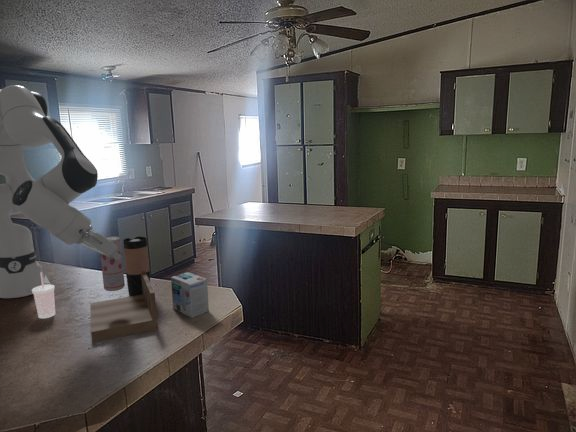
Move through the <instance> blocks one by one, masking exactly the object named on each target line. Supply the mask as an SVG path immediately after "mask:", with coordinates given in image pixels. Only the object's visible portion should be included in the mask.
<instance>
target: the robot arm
mask: <svg viewBox="0 0 576 432" xmlns="http://www.w3.org/2000/svg"><path fill="white" fill-rule="evenodd" d="M48 109H49V108H48V105H47V101H46V99H45V98H44V96H43V95H42V94H41V93H39V92H36V91H31V90H29V89H28V88H26V87H24V86H22V85H17V84H14V85H13V84H12V85H8V86H5V87H3V88H0V175H1V176H3V177H4V178H5V183H0V299H15V298H22V297H28V296H31V295H34V294H33V293H32V289H33V288H35V287H37V286H41V285H42V282H41V275H40V272H42V276H43V284H44V285H48V284H49V285H52V284H51V282H50V280H49V278H48V277H47V275H46V274H45V273H43V266H41V264H40V263H39V262H38V261H37V260H38V258H37V252H36V250H35V249H34V242H33V241H34V240H33V236H32V235H33V234H32V231H31V230H30V229H29V227H27V226H26V225H23V224H19V223H14V222H13V220H12V218H11V216H15V215H20V214H22V215H23V216H24V217H25V218H27V219H29V220H30V221H31V222H33V223H34V224H35V225H37V226H38V227H41V228H44V229H46V230H48V231H49V233H50V234H51V235H52V236H54V237H55V238H56V239H58V240H60V241H61V242H64V243H65V244H66V245H68V246H71V245H74V244H75V245H81V246H84V247H86V248H88V249H91V250H93V251H94V252H97V253H99V254H100V253H101V254H103V255H105V256H108V257H112V258H114V259H116V260H119V258H120V257H121V255H120V254H119V253H118V252H117V251H116V250H117V249H118V246H117V245H115V244H114V243H113V242H111V241H110V240H108V239H107V238H105V236H104V235H102V234H101V233H99V232H97V231H94V230H93V225H91V224H92V221H91V218H89V216H88V215H85V214H84V213H83V212H81V211H80V210H79V209H77V208H76V207H74V206H71V205H69V204H70V203H72V202H74V200H76V199H77V198H79V197H81V196H82V195H83V194H84V193H86V192H87V191H89V190H91V189H93V188H95V187H96V186H97V184H98V176H99V174H98V170H97V167H95V165H94V164H93V163H92V162H91V160H89V158H87V157H86V155H85V154H84V153H83V151H82V150H81V149H80V147H79V146H78V145H77V143H76V141H75V140H74V139H73V137H72V136H71V134H70V132H68V131H67V129H66V128H65V126H63V124H62V123H61V122H59V121H58V120H57V119H56V118H54V117H52V116H50V115H48ZM50 143H52V145H53V146H54V147H55V149H56V150H57V152H58V154H59V155H60V156H61V159H60V161H59V162H58V163H57V165H56V166H55V167H53V168H51V169H50V170H49V171H48V172H46V173H45V174H43V175H42V176H40V177H39V178H38V179H35V178H34V177H33V176H32V175H31V174H30V172H29V170H28V169H27V165H26V162H25V156H24V149H23V148H24V147H29V148H31V147H32V148H34V147H36V148H37V147H42V146H45V145H48V144H50Z"/></svg>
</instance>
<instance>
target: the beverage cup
mask: <svg viewBox="0 0 576 432" xmlns="http://www.w3.org/2000/svg"><path fill="white" fill-rule="evenodd" d="M42 272H43V271H42ZM42 272H40V275H41V282H42V285H41V286H37V287H35V288H33V289H32V293H33V294H32V295H33V298H34V303H35V307H36V312H37V317H38V318H39V319H48V318H51V317H53V316H55V315H56V304H55V287H56V286H55V285H54V284H51V285H49V284H48V285H44V284H43V276H42Z"/></svg>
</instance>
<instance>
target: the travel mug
mask: <svg viewBox="0 0 576 432" xmlns="http://www.w3.org/2000/svg"><path fill="white" fill-rule="evenodd" d="M122 242H123V251H124V252H123V254H124V265H125V276H126V282H127V289H128V290H127V292H128V297H130V296H136V295H142V294H143V289H142V277H141V271H145V272H146V274H147V277H148V279H149V281H150V282H151V276H150V275H151V271H150V262H149V261H150V260H149V250H148V240H147V237H146V236H136V237H134V238H130V237H128V238H127V237H126V238H125V239H123V240H122Z"/></svg>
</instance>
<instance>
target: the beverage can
mask: <svg viewBox="0 0 576 432" xmlns="http://www.w3.org/2000/svg"><path fill="white" fill-rule="evenodd" d="M104 237H105V236H104ZM105 238H107V239H108V240H110V241H111V242H113V243H114V244H115V245H117V246H118V249H117V250H116V251H117V252H118V253H119V254H120V255H121V257H120V258H119V260H116V259H114V258H112V257H108V256H105V255H103V254H101V253H99V256H100V264H101V273H102V282H103V283H102V284H103V289H104V290H105V291H106V292H117V291H119V290H122V289H124V287H125V285H126V284H125V276H124V267H123V266H124V265H123V253H122V245H121V244H122V243H121V238H120V237H119V236H106V237H105Z"/></svg>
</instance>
